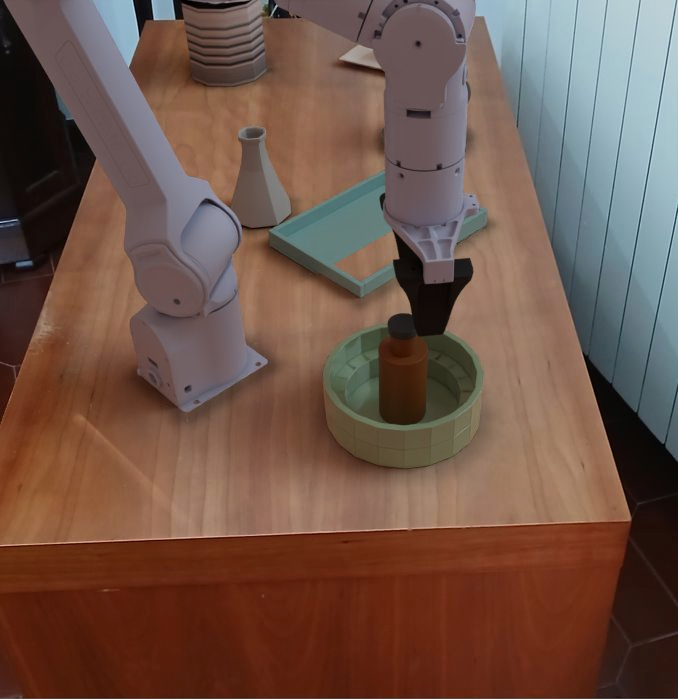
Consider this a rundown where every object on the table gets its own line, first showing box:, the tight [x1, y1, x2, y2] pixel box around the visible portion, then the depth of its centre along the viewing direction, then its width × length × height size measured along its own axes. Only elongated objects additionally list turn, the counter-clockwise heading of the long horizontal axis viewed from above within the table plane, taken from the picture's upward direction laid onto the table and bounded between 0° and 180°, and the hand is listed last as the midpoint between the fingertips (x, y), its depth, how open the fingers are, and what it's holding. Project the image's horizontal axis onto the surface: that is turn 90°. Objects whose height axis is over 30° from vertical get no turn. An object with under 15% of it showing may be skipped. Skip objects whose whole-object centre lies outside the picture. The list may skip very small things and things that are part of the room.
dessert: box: [338, 43, 384, 72], centre depth 133 cm, size 12×12×5 cm
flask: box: [229, 125, 292, 229], centre depth 101 cm, size 7×7×10 cm
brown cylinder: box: [378, 312, 428, 425], centre depth 76 cm, size 4×4×10 cm
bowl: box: [322, 322, 485, 469], centre depth 78 cm, size 13×13×5 cm
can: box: [180, 0, 268, 88], centre depth 130 cm, size 11×11×12 cm
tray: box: [267, 168, 489, 299], centre depth 100 cm, size 19×14×2 cm
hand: (422, 302), depth 74 cm, fingers open, 7 cm apart
